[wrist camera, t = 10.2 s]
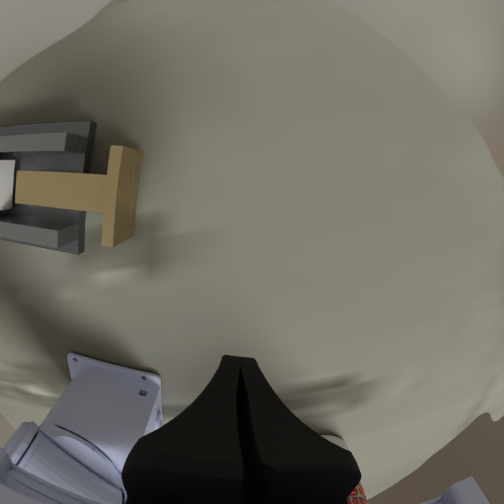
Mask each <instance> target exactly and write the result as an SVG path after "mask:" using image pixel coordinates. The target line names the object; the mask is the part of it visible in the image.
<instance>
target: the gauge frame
mask: <svg viewBox="0 0 504 504" xmlns="http://www.w3.org/2000/svg"><path fill="white" fill-rule="evenodd" d="M96 124H97V123H94V122H91V121H82V122H55V123H40V124H28V125H17V126H8V127H0V160H15V167H14V179H13V194H12V208H10V209H6V210H1V211H0V239H2V240H7V241H11V242H16V243H21V244H26V245H31V246H36V247H41V248H46V249H51V250H56V251H61V252H67V253H72V254H77V255H79V254H81V253H83V252H84V238H85V214H86V211H80V210H72V209H63V208H55V207H46V206H37V205H28V204H19V203H15V192H16V177H17V171H21V170H43V171H65V172H83V173H89V170H90V162H91V154H92V147H93V141H94V135H95V129H96Z"/></svg>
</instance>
